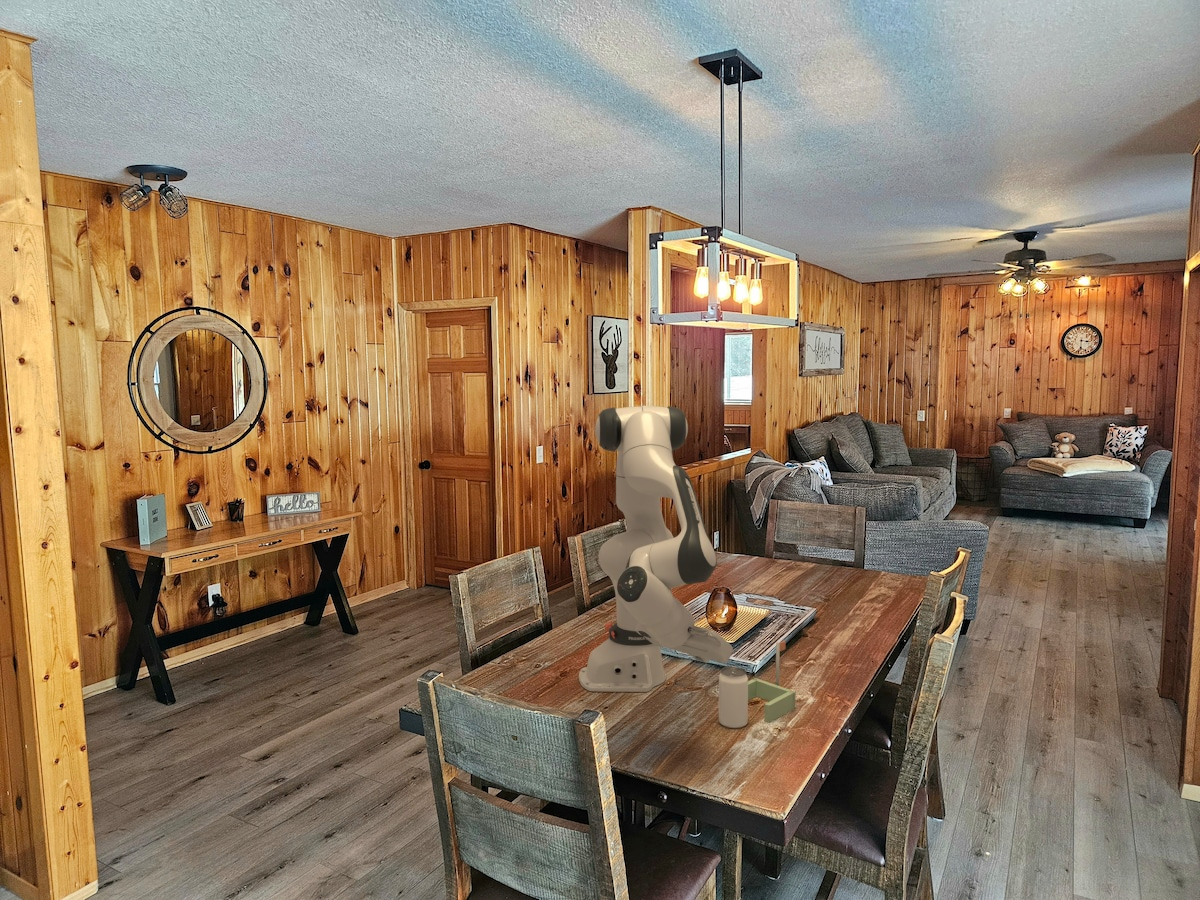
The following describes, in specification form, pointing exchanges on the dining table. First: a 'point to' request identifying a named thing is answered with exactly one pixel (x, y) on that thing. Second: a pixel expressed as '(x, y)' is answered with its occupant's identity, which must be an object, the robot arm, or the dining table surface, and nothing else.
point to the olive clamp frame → (773, 692)
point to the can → (733, 697)
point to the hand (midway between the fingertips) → (703, 658)
